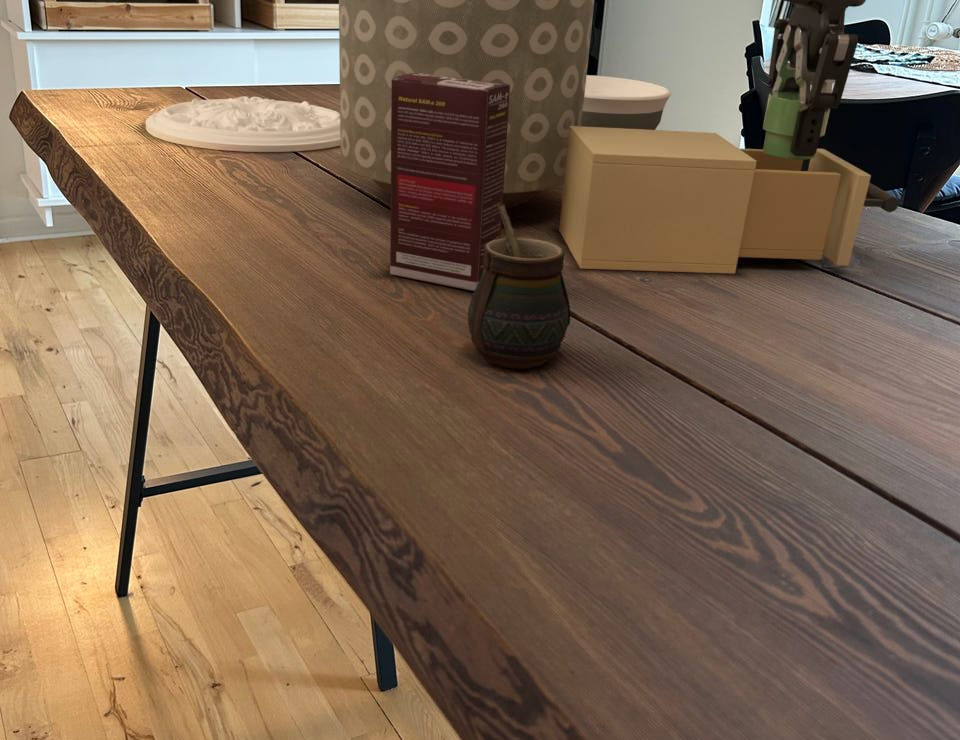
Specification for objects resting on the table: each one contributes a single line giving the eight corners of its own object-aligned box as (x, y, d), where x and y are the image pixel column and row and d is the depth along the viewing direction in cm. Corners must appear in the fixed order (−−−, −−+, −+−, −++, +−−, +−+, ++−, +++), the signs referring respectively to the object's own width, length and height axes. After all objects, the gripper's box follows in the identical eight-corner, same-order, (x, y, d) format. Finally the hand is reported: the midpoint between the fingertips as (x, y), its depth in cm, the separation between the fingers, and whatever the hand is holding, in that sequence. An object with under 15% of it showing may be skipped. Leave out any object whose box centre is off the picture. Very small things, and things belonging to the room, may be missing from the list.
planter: (493, 250, 97) (512, -38, 84) (291, 201, 108) (282, -61, 95) (611, 203, 115) (641, -39, 103) (429, 165, 126) (436, -58, 114)
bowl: (497, 142, 141) (501, 77, 137) (590, 131, 152) (596, 71, 148) (597, 170, 130) (605, 101, 125) (689, 156, 141) (700, 92, 136)
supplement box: (500, 278, 89) (514, 83, 81) (476, 294, 86) (489, 89, 77) (412, 261, 92) (417, 70, 84) (386, 275, 89) (388, 76, 80)
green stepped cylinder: (806, 148, 99) (818, 93, 96) (828, 161, 94) (841, 103, 91) (750, 146, 98) (760, 90, 96) (769, 159, 93) (781, 100, 91)
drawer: (848, 234, 106) (869, 150, 102) (896, 268, 97) (921, 177, 93) (678, 227, 105) (691, 142, 100) (709, 261, 95) (725, 168, 91)
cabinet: (698, 235, 106) (716, 132, 101) (735, 273, 95) (757, 160, 90) (558, 230, 104) (569, 125, 99) (580, 268, 94) (593, 153, 88)
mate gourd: (505, 385, 70) (516, 238, 65) (442, 348, 75) (448, 209, 70) (585, 366, 74) (602, 225, 68) (520, 332, 79) (531, 199, 73)
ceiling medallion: (262, 162, 122) (261, 134, 121) (99, 126, 134) (96, 100, 132) (399, 132, 143) (400, 108, 141) (248, 103, 155) (246, 81, 153)
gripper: (912, -54, 81) (859, 167, 90) (842, -60, 94) (801, 135, 102) (821, -59, 81) (777, 164, 89) (762, -65, 93) (728, 132, 101)
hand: (790, 147), depth 96 cm, fingers closed on green stepped cylinder, 5 cm apart
